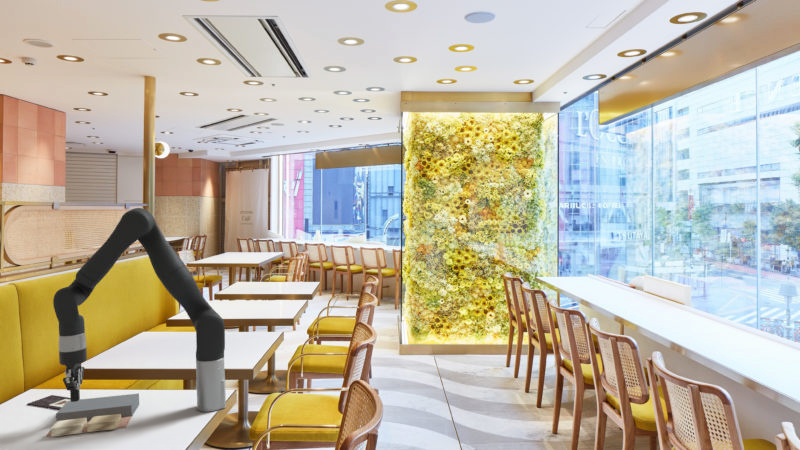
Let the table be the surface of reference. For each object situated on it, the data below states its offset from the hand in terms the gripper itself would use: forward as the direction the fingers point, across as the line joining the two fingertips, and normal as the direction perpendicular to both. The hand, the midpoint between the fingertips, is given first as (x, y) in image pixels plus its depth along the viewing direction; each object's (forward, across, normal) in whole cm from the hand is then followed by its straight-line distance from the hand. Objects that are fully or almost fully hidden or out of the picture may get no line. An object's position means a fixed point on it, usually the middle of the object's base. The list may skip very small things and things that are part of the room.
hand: (75, 400), depth 167 cm
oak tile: (+6, -7, -10) cm, 13 cm away
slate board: (+8, +6, -5) cm, 11 cm away
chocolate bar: (+8, +23, +13) cm, 28 cm away
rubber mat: (+8, -4, -5) cm, 10 cm away
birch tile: (+6, -7, 0) cm, 9 cm away
